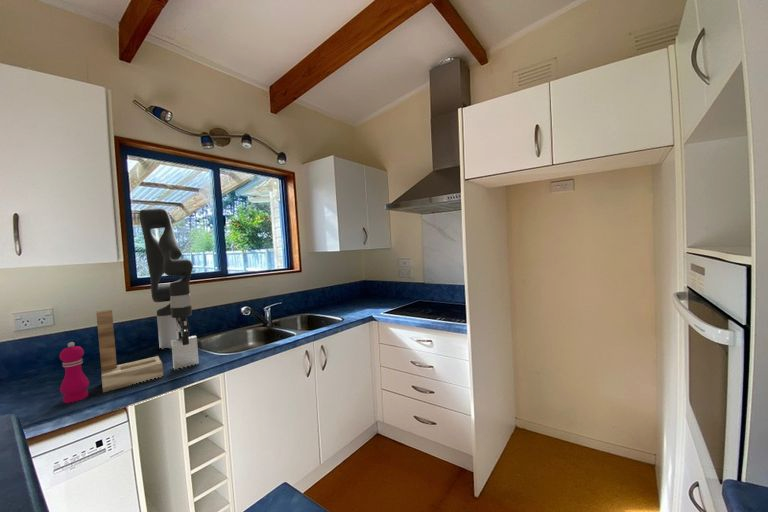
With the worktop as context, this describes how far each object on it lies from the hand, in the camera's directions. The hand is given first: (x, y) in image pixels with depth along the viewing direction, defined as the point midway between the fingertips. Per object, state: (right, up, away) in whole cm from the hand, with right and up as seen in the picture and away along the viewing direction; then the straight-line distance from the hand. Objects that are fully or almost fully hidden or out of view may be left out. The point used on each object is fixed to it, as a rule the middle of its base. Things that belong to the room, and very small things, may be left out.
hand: (183, 342), depth 135 cm
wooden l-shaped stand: (-13, -11, -11) cm, 20 cm away
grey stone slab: (+1, -10, +1) cm, 10 cm away
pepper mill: (-21, -13, -26) cm, 36 cm away
